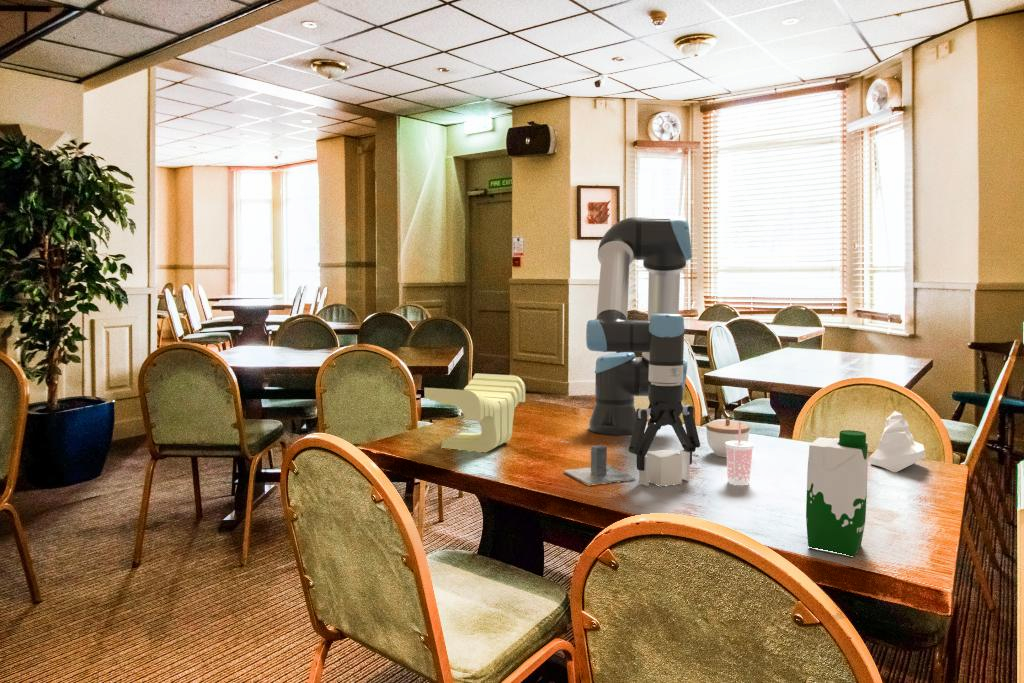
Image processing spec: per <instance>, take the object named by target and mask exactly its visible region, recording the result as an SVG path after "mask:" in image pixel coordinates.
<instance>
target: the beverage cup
mask: <svg viewBox="0 0 1024 683" xmlns="http://www.w3.org/2000/svg"><path fill="white" fill-rule="evenodd" d="M738 423H739V435H738V441H727V442H725V447H726V453H727V457H726V472H727V473H726V477H727V483H728V482H729V483H732V484H736V485H746V484H749V485H750V479H751V478H750V477H751V468H752V459H753V458H752V457H753V450H754V448H755V444H754V443H753V442H751V441H748V442H746V441H741V423H742V421H740V420H739V421H738ZM729 483H728V484H729Z"/></svg>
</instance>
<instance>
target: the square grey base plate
mask: <svg viewBox="0 0 1024 683" xmlns="http://www.w3.org/2000/svg"><path fill="white" fill-rule="evenodd" d="M590 446H591V447H590V466H589V467H588V466H587V467H581V468H570V469H563V474H565V473H566V474H565V475H567V474H568V475H567V476H569V475H570V476H572V477H574V478H576V479H578V480H580V481H582V482H584V483H586V484H588V485H592V484H602V483H610V482H618V481H625V482H629V481H628V480H633V481H636V477H635V476H633V475H630V474H628V473H626V472H625V471H622V470H619V469H617V468H615V467H613V466H611V465H608V464H607V462H608V461H607V460H608V459H607V452H608V450H607V449H608V448H607V446H604V445H602V444H598V445H596V444H595V445H590ZM570 476H569V477H570ZM572 477H571V478H572ZM574 478H573V479H574ZM576 479H575V480H576ZM578 480H577V481H578ZM580 481H579V482H580ZM582 482H581V483H582ZM618 483H619V482H618ZM610 484H611V483H610ZM602 485H603V484H602Z"/></svg>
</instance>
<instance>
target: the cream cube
mask: <svg viewBox="0 0 1024 683" xmlns="http://www.w3.org/2000/svg"><path fill="white" fill-rule="evenodd" d="M646 456H649V481H650V482H652V483H651V484H653V483H655V484H657V485H659V486H665V485H673V484H680V485H682V484H683V479H682V455H681V454H680V453H678V452H675V451H673V450H669V449H662V450H661V449H660V450H652V451H648V452H647V454H646ZM650 482H649V483H650ZM681 483H682V484H681ZM655 484H654V485H655ZM657 485H656V486H657ZM659 486H658V487H659ZM673 486H674V485H673ZM665 487H666V486H665Z"/></svg>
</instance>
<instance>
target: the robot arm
mask: <svg viewBox="0 0 1024 683" xmlns="http://www.w3.org/2000/svg"><path fill="white" fill-rule="evenodd" d="M690 235H691V234H690V226H689V221H688V219H687V218H685V217H683V216H672V215H669V216H648V217H647V216H645V217H643V216H642V217H636V216H632V217H627V218H623V219H622V220H620V221H618V222H616V223H615V224H614V225H612V226H611V227H610V228H609V229H608V230H607V231H606V232H605V233H604V235H603V236H602V238H601V240H600V242H599V245H598V248H597V260H598V263H599V264H600V267H599V268H600V270H599V280H598V281H599V282H598V292H597V295H598V296H597V306H596V316H595V317H596V318H595V319H591V320H588V321H587V322H586V328H585V330H586V332H585V333H586V334H585V336H586V338H585V339H586V340H585V342H586V348H587V349H588V350H589V351H592V352H601V353H608V354H603V355H600V356H598V357H597V358H596V362H595V370H594V374H595V388H594V390H595V391H594V392H595V393H594V396H595V397H594V400H595V401H594V407H593V410H592V413H591V416H590V419H589V423H588V425H589V426H588V427H589V428H588V429H589V431H591V432H593V433H597V434H602V435H613V436H614V435H617V436H618V435H631V439H630V442H629V445H628V446H629V447H628V452H629V453H631V454H634V455H635V456H636V463H635V464H636V469H637V470H638V483H639V484H640V485H643V486H645V487H649V486H650V485H649V483H650V482H649V456H647V452H649V449H650V447H651V445H652V443H653V442H654V438H655V437H656V435H657V433H658V431H659V430H660V429H661V428H662V427H666V426H668V425H669V426H671V427H672V429H673V430H674V433H675V434H676V437H677V438H678V441H679V443H680V445H681V448H682V449H679V454H681V455H682V480H684V481H690V475H691V474H690V469H691V467H690V466H691V465H692V463H693V453H694V452H696V449H698V448H700V447H701V442H700V438H699V434H698V429H697V425H696V421H695V417H694V414H695V413H694V412H695V407H694V406H692V405H689V404H682V401H683V400H684V390H685V387H686V380H687V372H688V359H687V358H686V357H684V348H685V346H684V345H685V320H684V319H685V318H684V316H683V315H682V314H679V313H680V286H681V271H683V269H685V268H686V267H687V261H690V260H692V259H693V256H692V255H693V254H692V245H691V244H692V242H691V236H690ZM633 261H643V265H642V266H643V268H644V269H645V270H647V271H648V287H647V288H648V290H647V291H648V294H647V295H648V298H647V304H648V305H647V307H648V308H647V319H646V320H644V319H643V320H641V319H640V320H639V319H637V320H633V319H628V312H629V310H628V309H629V291H630V290H629V287H630V265H631V264H632V263H633ZM609 352H610V353H609ZM635 353H641V357H640V356H636V354H635ZM635 397H648V401H649V405H648V407H647V408H644V409H643V408H637V409H636V406H635ZM681 414H682V419H683V421H682V419H681ZM648 419H649V420H648ZM683 425H684V426H683ZM684 427H685V428H684Z"/></svg>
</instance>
